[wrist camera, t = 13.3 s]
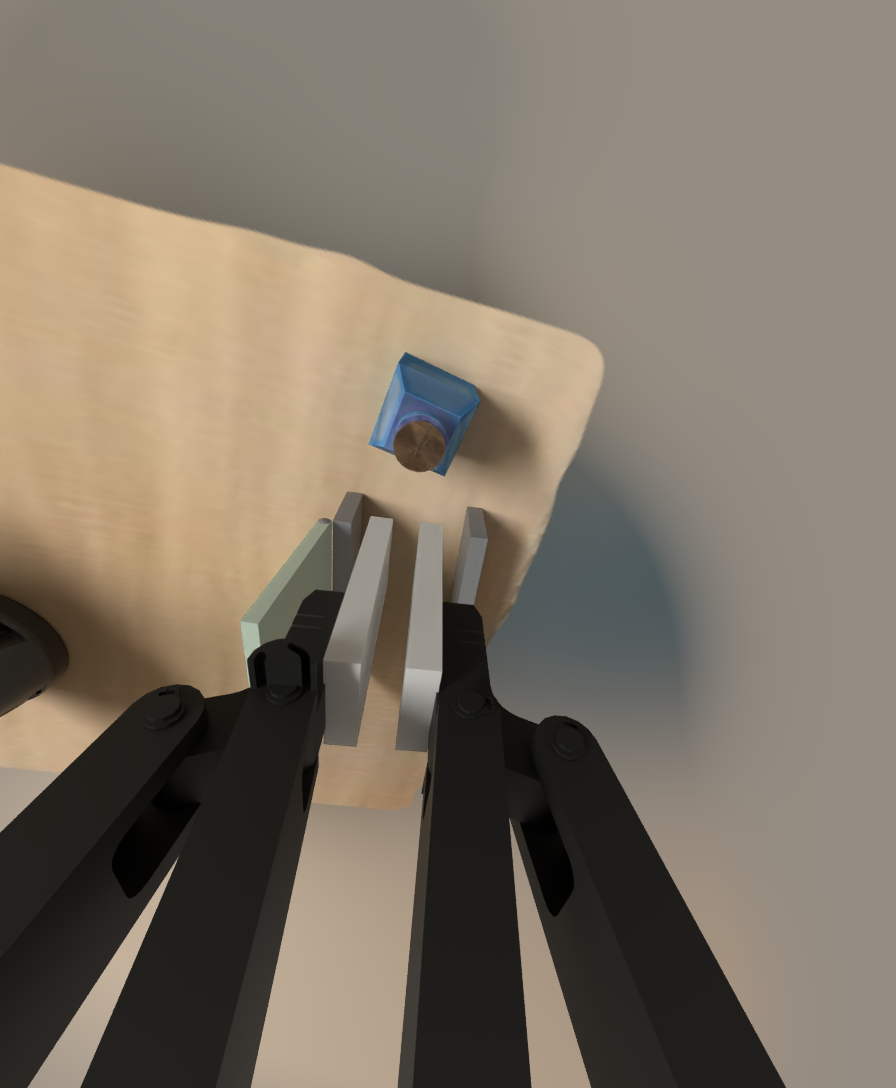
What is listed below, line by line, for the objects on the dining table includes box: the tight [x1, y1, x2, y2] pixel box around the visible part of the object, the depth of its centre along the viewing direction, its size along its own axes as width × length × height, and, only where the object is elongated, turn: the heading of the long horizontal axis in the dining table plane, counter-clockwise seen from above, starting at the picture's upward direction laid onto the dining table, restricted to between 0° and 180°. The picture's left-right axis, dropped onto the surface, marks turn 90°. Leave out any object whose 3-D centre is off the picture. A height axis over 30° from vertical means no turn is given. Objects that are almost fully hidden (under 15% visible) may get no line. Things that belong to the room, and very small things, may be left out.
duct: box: [333, 492, 488, 605], centre depth 43 cm, size 13×22×6 cm, turn 172°
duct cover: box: [240, 518, 332, 688], centre depth 35 cm, size 13×22×1 cm
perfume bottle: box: [369, 352, 480, 476], centre depth 31 cm, size 6×6×12 cm
